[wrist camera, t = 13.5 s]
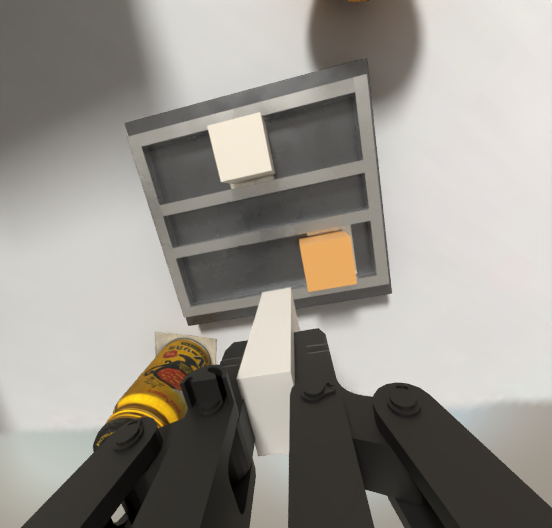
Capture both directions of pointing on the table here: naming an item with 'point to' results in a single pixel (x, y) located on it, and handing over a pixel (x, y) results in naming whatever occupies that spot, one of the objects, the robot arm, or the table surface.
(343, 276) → the fader orange
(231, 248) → the grey slotted tray
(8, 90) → the table surface
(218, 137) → the block
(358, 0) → the apple
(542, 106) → the table surface
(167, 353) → the condiment
